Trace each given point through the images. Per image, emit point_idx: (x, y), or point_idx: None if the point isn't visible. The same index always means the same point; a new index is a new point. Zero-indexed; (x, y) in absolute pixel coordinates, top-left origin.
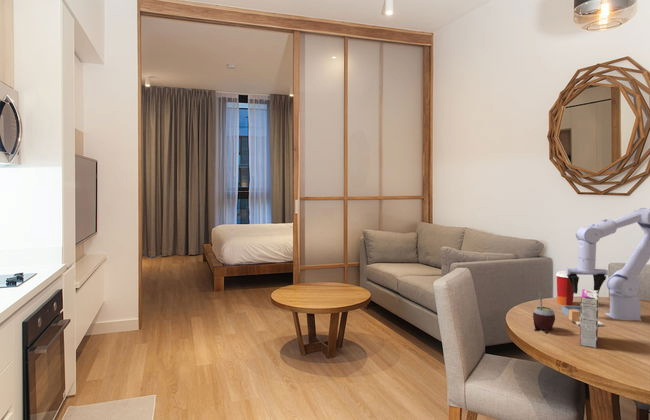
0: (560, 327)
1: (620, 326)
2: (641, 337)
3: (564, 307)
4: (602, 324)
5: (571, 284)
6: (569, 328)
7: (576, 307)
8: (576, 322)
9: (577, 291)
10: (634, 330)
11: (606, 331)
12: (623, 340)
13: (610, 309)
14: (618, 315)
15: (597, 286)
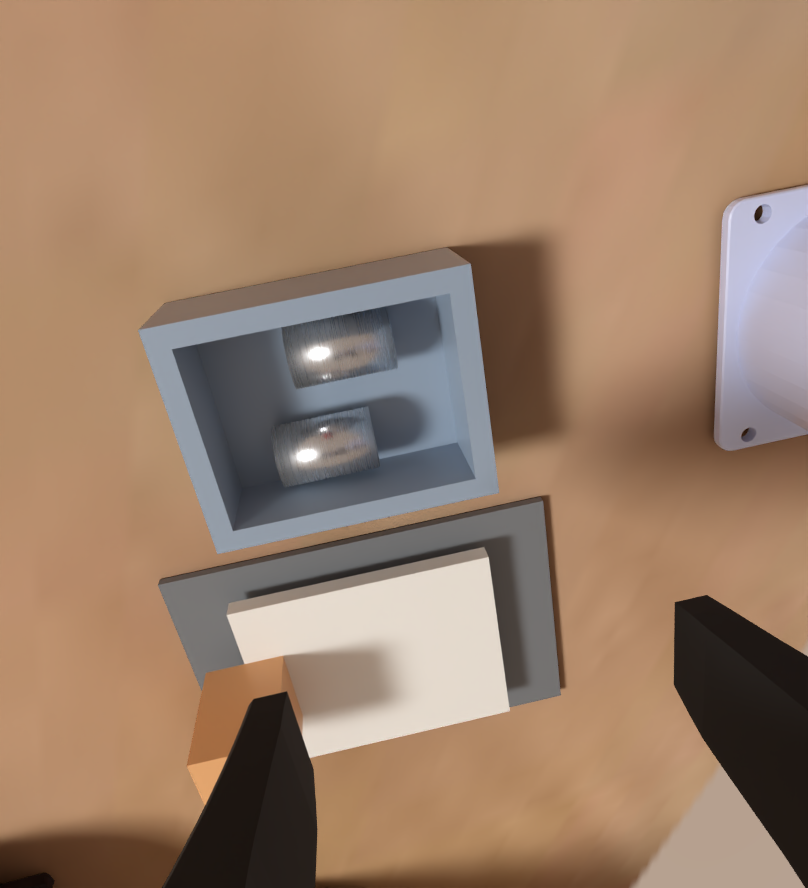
0: (122, 789)
1: (668, 601)
2: (689, 786)
3: (173, 425)
4: (500, 707)
5: (182, 868)
6: None
7: (365, 305)
8: None
9: (316, 823)
10: None
11: (490, 754)
12: (534, 872)
13: (792, 345)
14: (795, 423)
15: (783, 837)
